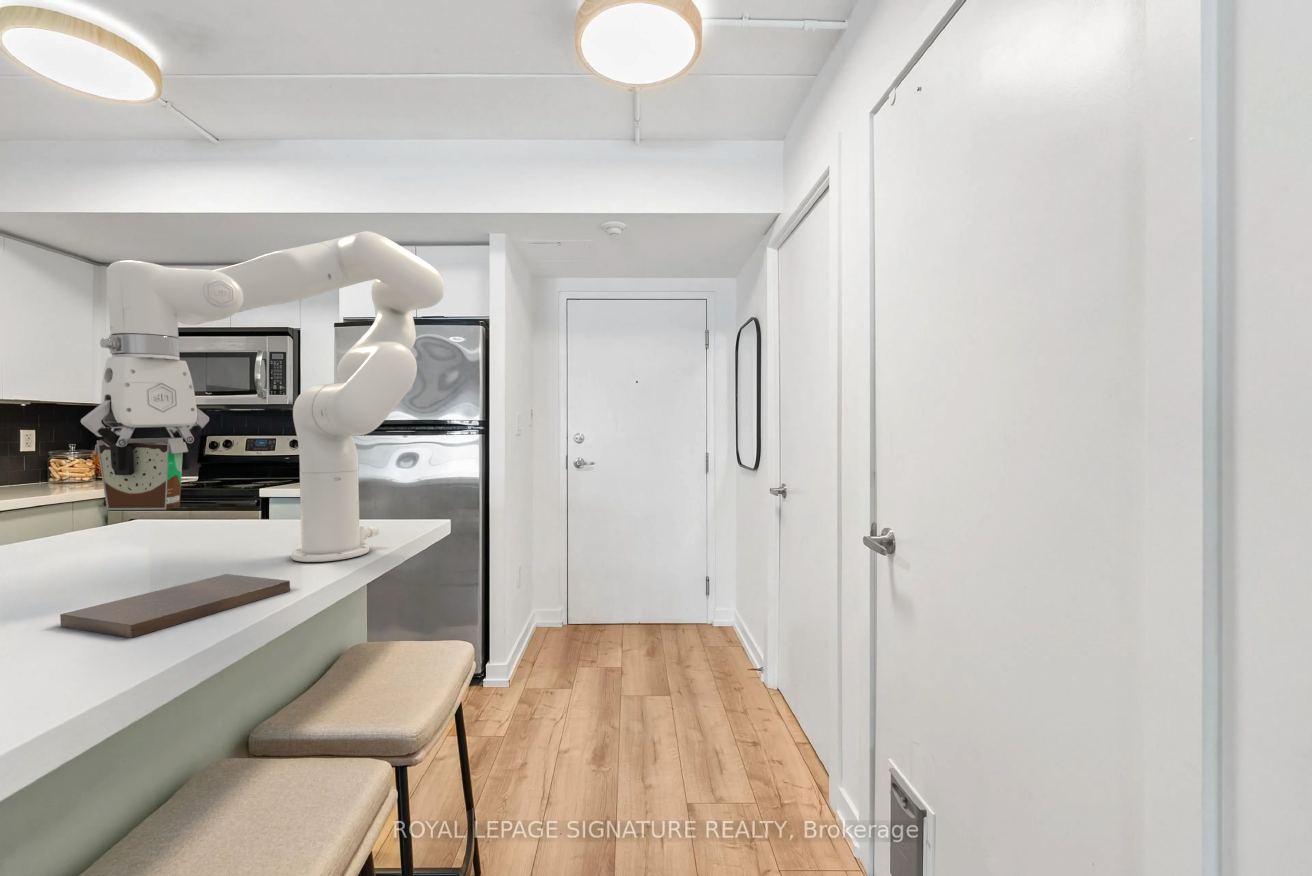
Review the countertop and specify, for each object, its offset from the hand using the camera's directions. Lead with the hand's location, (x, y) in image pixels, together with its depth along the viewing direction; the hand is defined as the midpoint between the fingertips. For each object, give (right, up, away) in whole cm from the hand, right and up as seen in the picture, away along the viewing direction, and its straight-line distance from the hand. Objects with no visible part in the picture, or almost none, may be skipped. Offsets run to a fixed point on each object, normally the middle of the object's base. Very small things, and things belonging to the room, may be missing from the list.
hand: (153, 471), depth 87 cm
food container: (0, -5, 0) cm, 5 cm away
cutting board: (+11, -18, -8) cm, 22 cm away
